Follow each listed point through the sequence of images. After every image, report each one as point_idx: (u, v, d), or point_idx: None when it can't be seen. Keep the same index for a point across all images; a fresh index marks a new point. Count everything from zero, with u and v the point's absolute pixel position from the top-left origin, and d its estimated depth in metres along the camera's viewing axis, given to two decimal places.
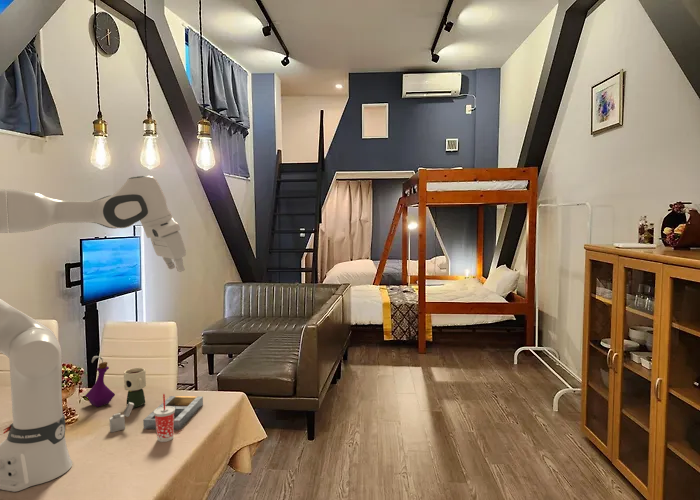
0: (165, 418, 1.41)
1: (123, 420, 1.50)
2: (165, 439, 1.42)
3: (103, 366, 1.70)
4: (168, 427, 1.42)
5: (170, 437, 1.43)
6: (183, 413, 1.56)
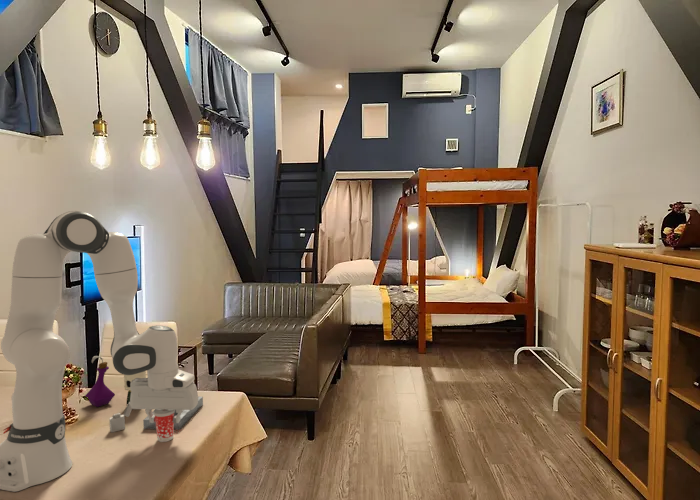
0: (165, 418, 1.41)
1: (123, 420, 1.50)
2: (165, 439, 1.42)
3: (103, 366, 1.70)
4: (168, 427, 1.42)
5: (170, 437, 1.43)
6: (183, 413, 1.56)
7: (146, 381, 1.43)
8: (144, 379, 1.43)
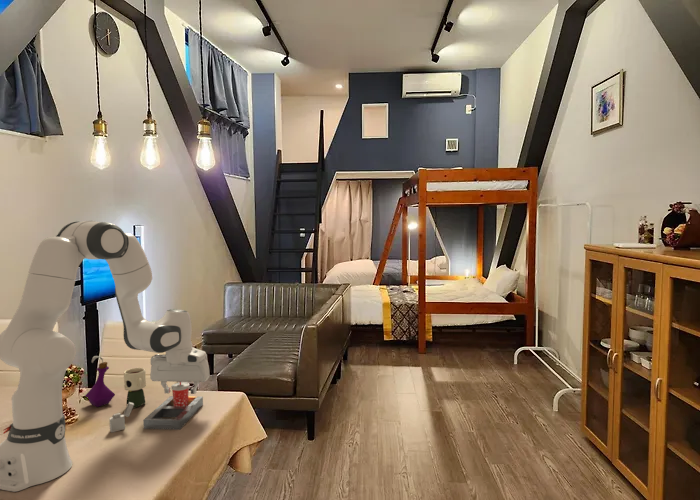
0: (181, 391, 1.62)
1: (123, 420, 1.50)
2: None
3: (103, 366, 1.70)
4: (184, 399, 1.63)
5: None
6: (183, 413, 1.56)
7: (164, 357, 1.64)
8: (162, 355, 1.64)
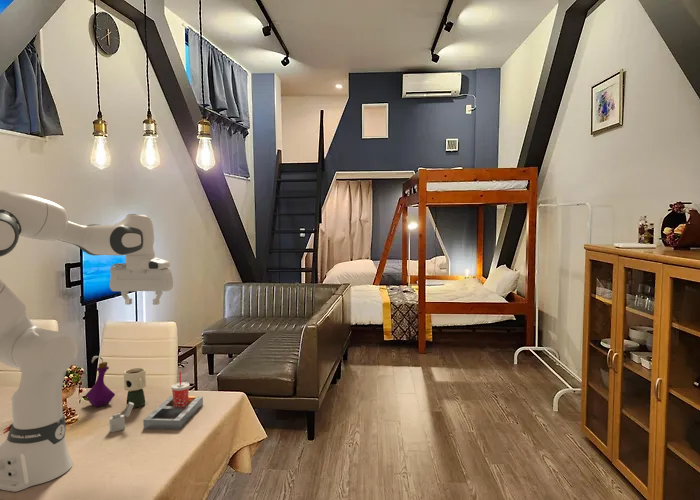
0: (181, 391, 1.62)
1: (123, 420, 1.50)
2: None
3: (103, 366, 1.70)
4: (184, 399, 1.63)
5: None
6: (183, 413, 1.56)
7: (125, 266, 1.55)
8: (123, 264, 1.55)
